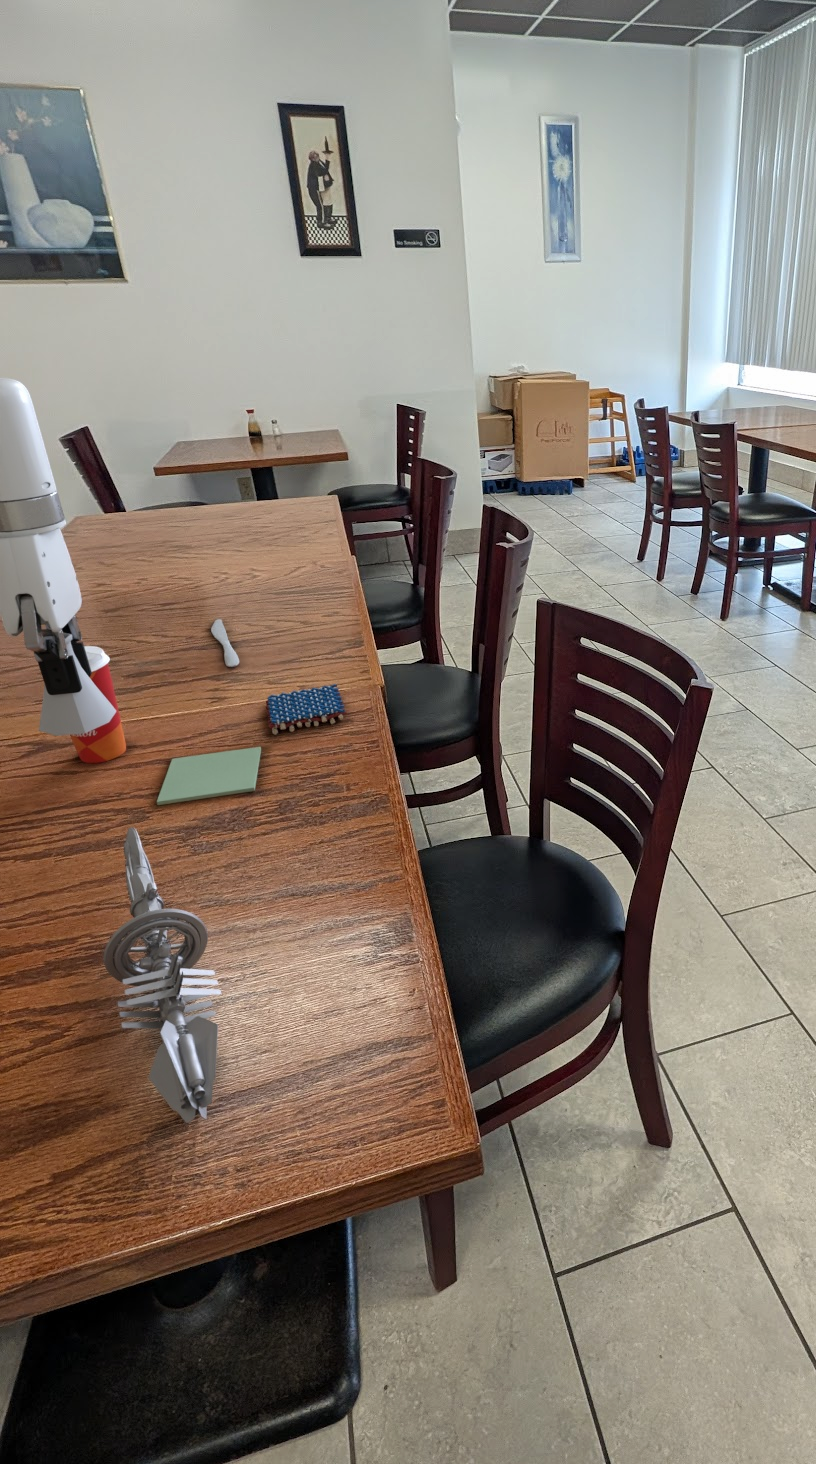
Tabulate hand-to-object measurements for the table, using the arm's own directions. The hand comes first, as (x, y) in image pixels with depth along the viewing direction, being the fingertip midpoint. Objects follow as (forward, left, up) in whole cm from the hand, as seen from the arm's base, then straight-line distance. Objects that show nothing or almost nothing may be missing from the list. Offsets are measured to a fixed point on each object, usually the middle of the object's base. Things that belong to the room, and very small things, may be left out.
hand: (70, 683), depth 88 cm
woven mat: (+21, +21, -17) cm, 34 cm away
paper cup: (-5, +17, -17) cm, 24 cm away
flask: (0, 0, -5) cm, 5 cm away
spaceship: (+11, -31, -17) cm, 37 cm away
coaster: (+10, +6, -17) cm, 20 cm away
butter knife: (+6, +56, -17) cm, 59 cm away
